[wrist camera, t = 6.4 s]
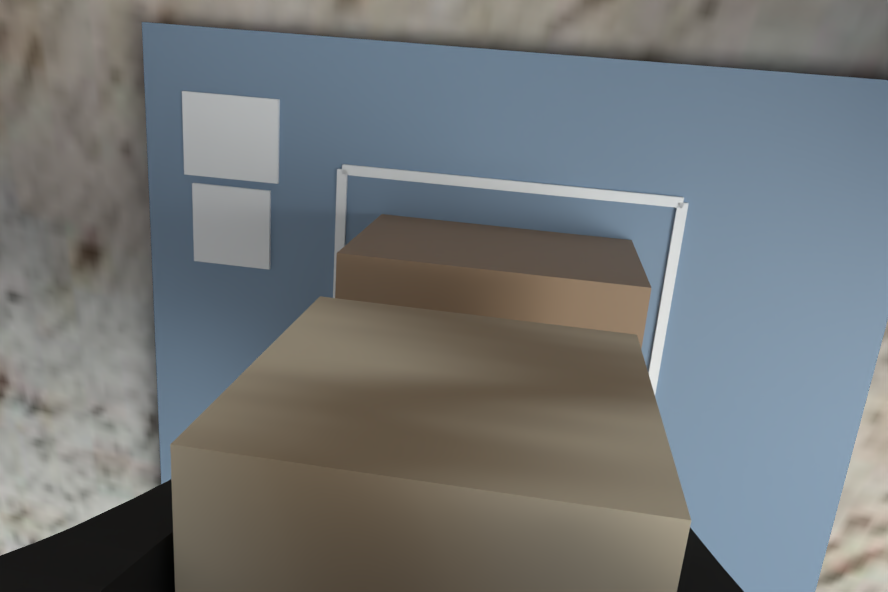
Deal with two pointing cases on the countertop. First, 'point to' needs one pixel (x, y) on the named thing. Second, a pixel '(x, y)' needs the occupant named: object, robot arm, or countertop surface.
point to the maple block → (430, 462)
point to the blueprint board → (585, 128)
